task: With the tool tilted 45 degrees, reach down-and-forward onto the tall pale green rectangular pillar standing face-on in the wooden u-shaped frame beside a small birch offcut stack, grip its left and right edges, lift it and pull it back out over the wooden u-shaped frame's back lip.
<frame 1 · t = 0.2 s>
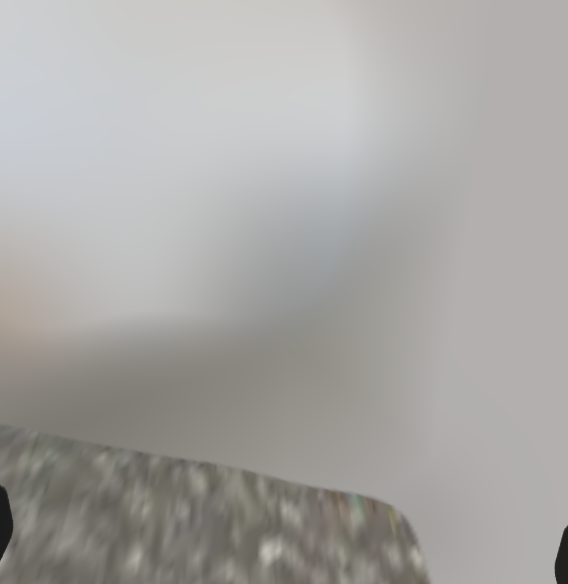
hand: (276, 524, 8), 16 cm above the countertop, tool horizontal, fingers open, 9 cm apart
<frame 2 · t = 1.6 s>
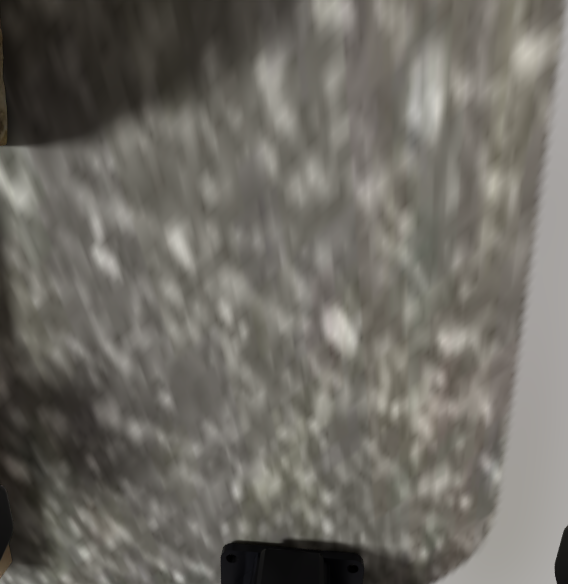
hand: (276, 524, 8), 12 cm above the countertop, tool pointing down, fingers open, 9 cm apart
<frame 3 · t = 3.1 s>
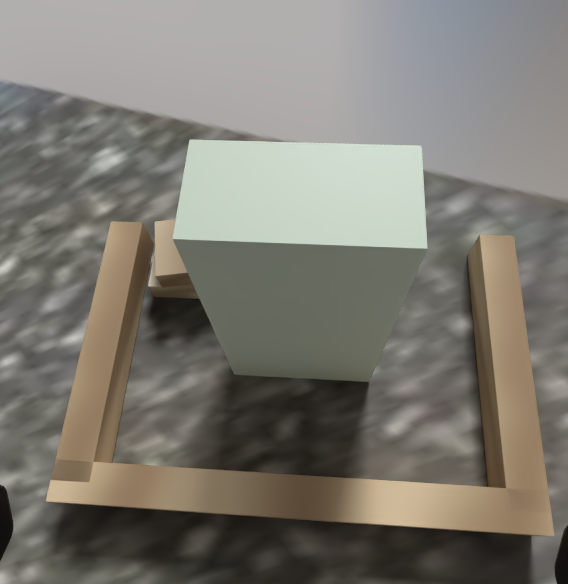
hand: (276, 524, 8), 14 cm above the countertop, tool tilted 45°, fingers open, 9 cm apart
pale green rectangular pillar: (302, 346, 24), on the countertop
wooden u-shaped frame: (301, 367, 23), on the countertop
offcut stack: (196, 266, 26), on the countertop
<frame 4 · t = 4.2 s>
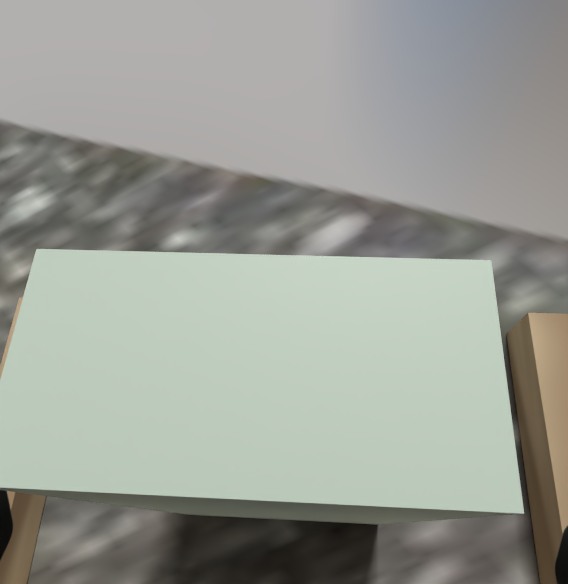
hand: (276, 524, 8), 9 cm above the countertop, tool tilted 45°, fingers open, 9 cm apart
pale green rectangular pillar: (284, 469, 17), on the countertop
wooden u-shaped frame: (283, 502, 17), on the countertop
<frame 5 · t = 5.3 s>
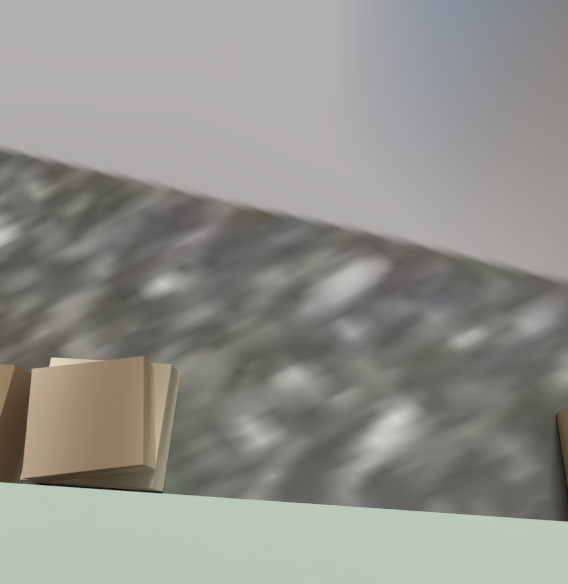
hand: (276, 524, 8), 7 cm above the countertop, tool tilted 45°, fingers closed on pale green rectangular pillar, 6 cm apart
offcut stack: (113, 427, 16), on the countertop
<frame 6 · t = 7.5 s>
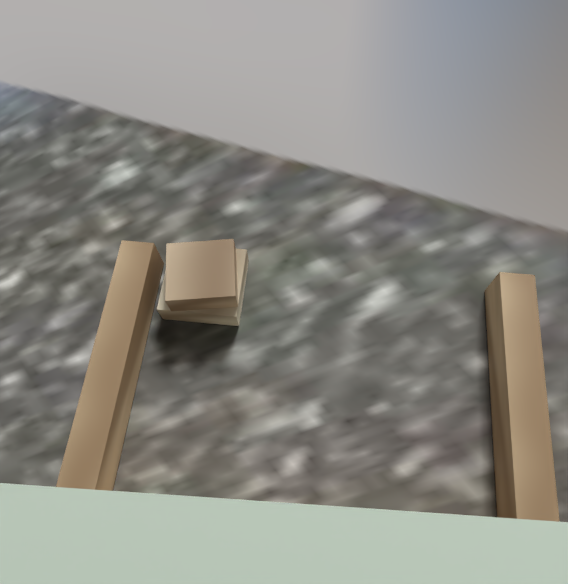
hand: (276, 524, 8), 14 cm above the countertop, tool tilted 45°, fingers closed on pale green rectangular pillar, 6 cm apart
wooden u-shaped frame: (310, 400, 23), on the countertop
offcut stack: (206, 289, 25), on the countertop
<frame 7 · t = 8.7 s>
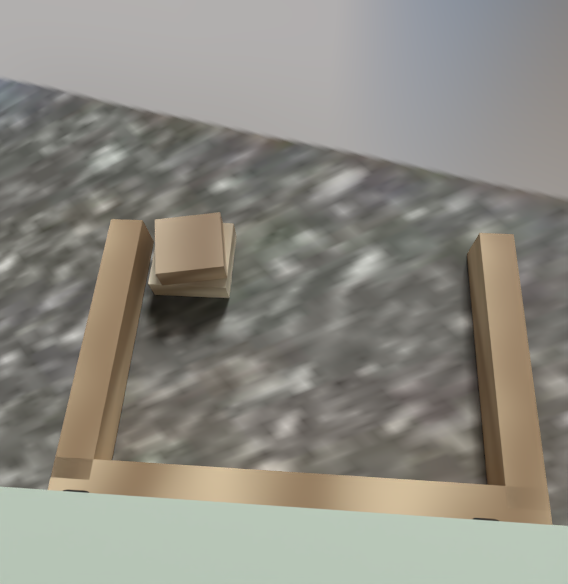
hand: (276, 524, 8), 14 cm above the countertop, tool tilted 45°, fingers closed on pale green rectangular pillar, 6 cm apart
wooden u-shaped frame: (301, 365, 23), on the countertop
offcut stack: (196, 264, 26), on the countertop
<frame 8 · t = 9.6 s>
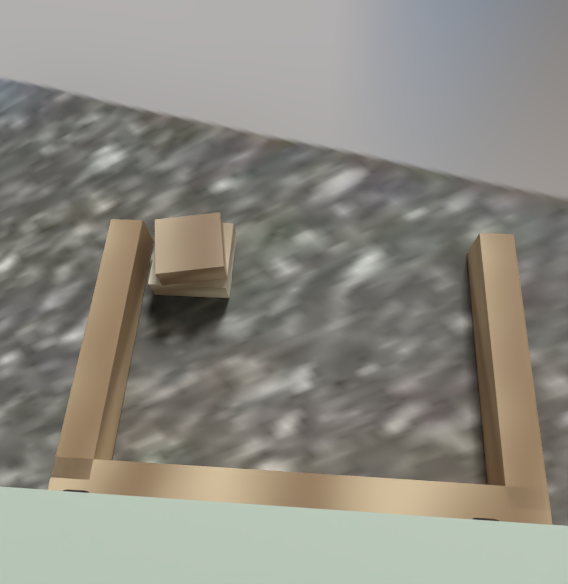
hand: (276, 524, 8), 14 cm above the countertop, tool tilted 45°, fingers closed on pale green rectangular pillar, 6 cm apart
wooden u-shaped frame: (301, 365, 23), on the countertop
offcut stack: (196, 264, 26), on the countertop
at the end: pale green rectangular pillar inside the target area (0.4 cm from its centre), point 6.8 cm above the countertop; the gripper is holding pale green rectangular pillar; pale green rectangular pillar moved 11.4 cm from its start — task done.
